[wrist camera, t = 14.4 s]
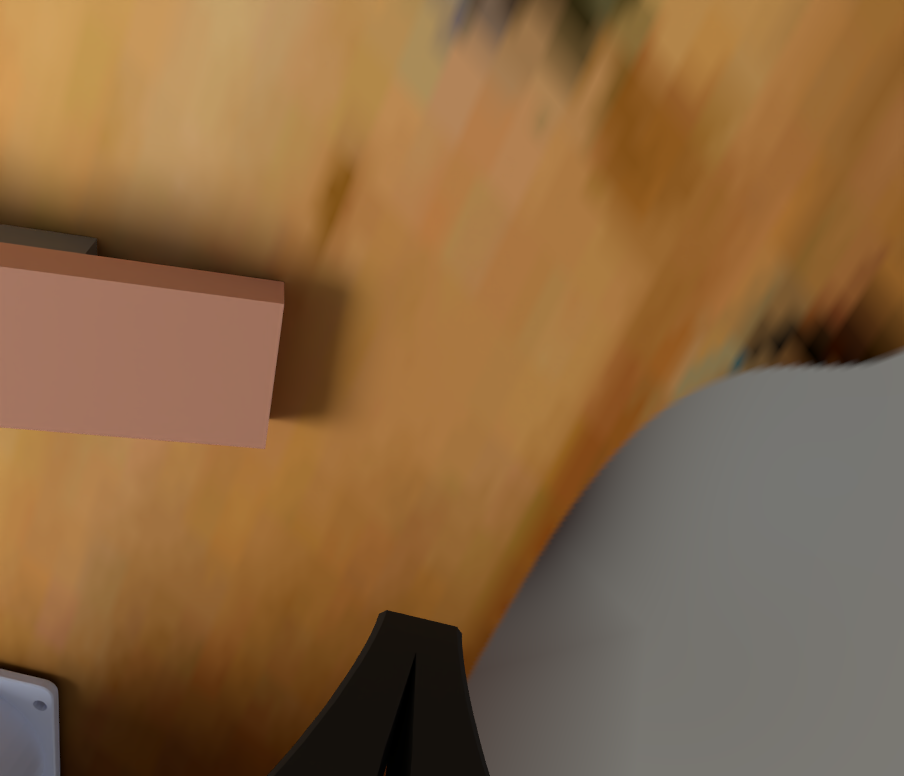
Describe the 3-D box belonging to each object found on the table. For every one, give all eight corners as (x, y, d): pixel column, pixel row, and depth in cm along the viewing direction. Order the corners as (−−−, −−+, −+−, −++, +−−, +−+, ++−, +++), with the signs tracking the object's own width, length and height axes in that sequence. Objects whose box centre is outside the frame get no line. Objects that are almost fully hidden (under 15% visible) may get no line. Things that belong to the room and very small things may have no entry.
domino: (264, 448, 21) (-60, 422, 19) (266, 419, 23) (-37, 392, 21) (284, 304, 19) (-74, 256, 17) (283, 282, 21) (-48, 235, 19)
